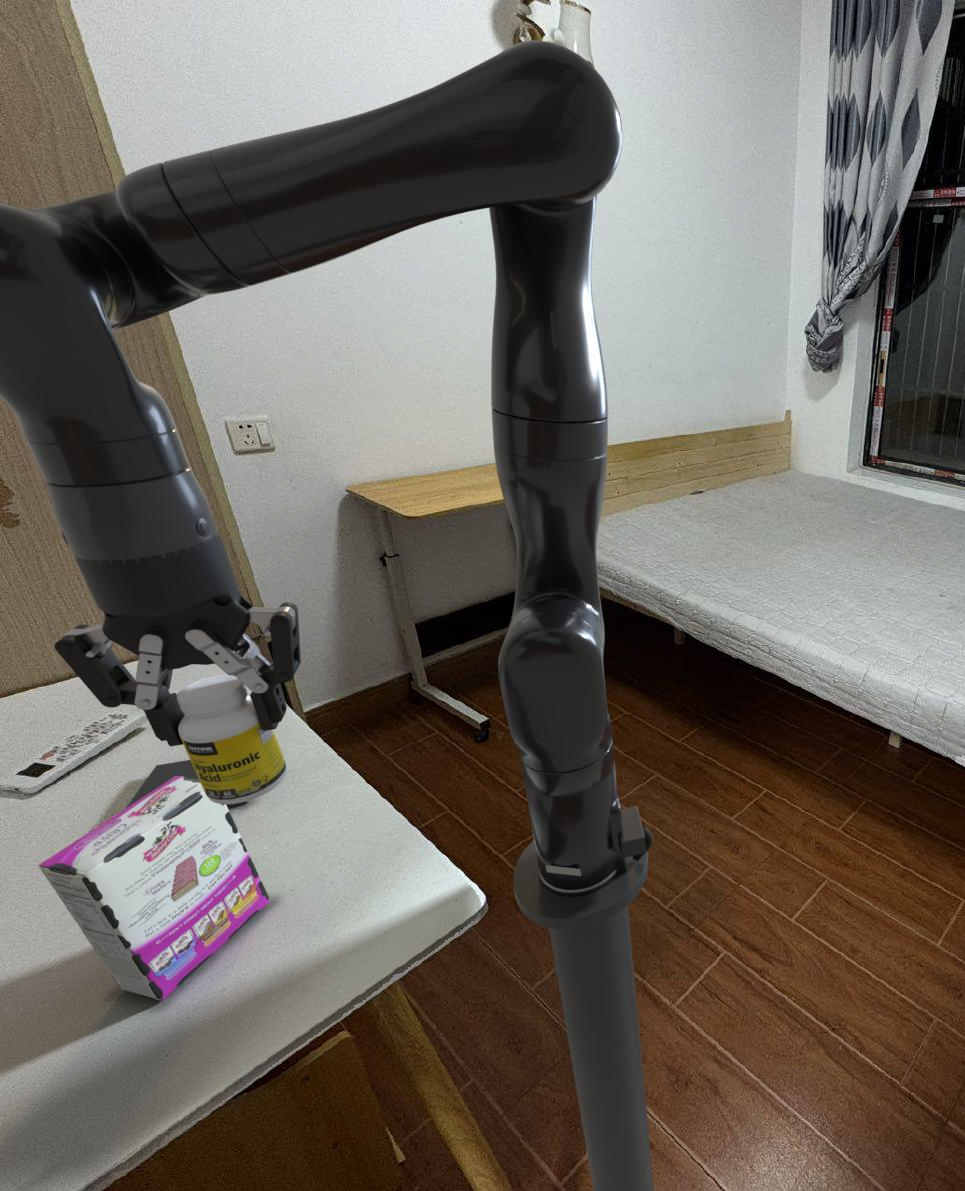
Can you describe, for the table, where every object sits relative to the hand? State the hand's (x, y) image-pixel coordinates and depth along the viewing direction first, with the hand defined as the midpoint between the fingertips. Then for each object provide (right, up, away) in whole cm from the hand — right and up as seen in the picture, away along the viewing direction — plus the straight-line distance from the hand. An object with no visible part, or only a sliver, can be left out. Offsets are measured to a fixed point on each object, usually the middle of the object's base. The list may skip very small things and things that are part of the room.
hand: (227, 731), depth 52 cm
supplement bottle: (0, -5, +2) cm, 6 cm away
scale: (-30, -14, +30) cm, 44 cm away
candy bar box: (-13, -24, +11) cm, 29 cm away
